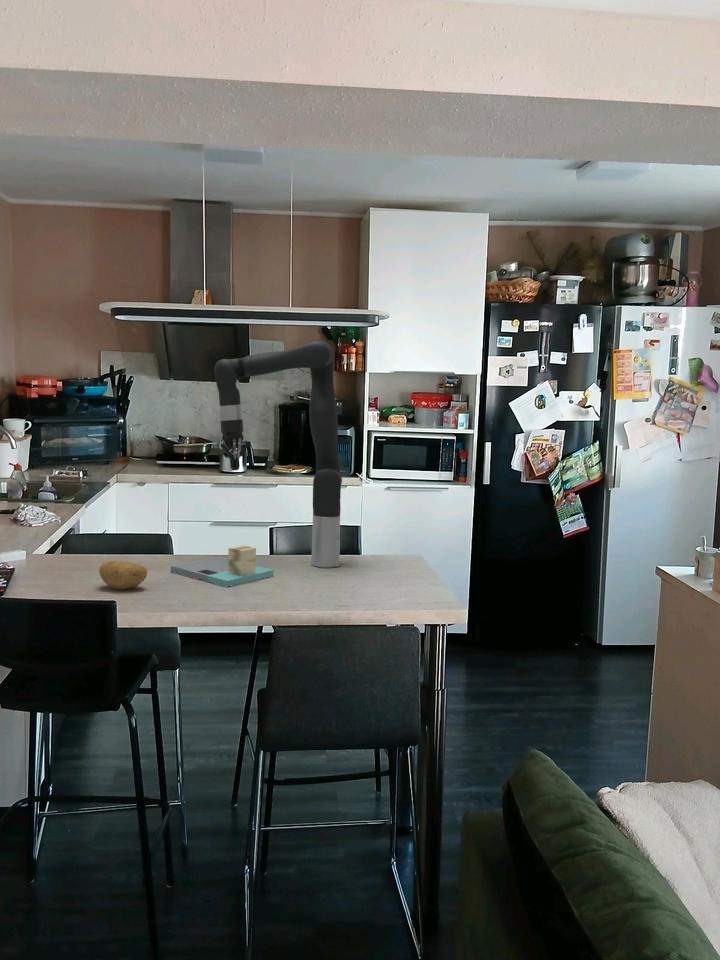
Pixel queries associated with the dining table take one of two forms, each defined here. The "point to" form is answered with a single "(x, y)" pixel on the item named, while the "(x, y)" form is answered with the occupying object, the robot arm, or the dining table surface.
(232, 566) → the maple block
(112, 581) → the potato
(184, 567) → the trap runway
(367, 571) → the dining table surface
